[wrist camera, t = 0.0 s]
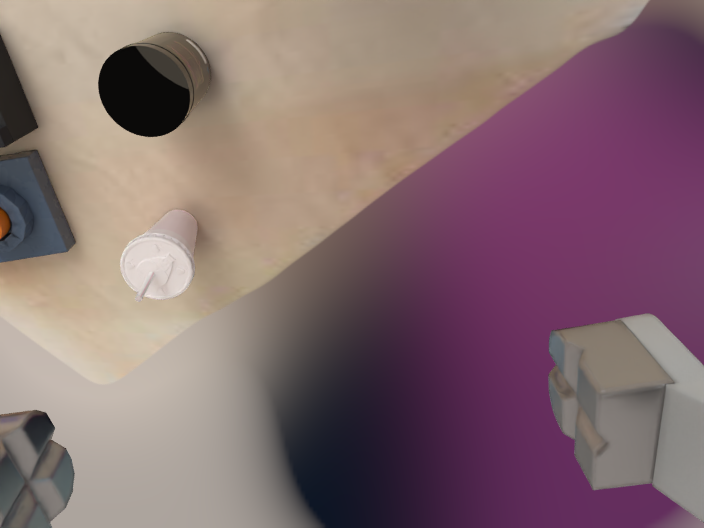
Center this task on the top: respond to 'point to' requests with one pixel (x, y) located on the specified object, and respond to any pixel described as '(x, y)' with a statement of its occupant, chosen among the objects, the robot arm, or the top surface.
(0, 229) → the button
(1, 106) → the inspection stand
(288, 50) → the top surface
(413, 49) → the top surface
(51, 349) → the top surface
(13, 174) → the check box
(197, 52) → the supplement container
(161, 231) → the smoothie
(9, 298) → the top surface
